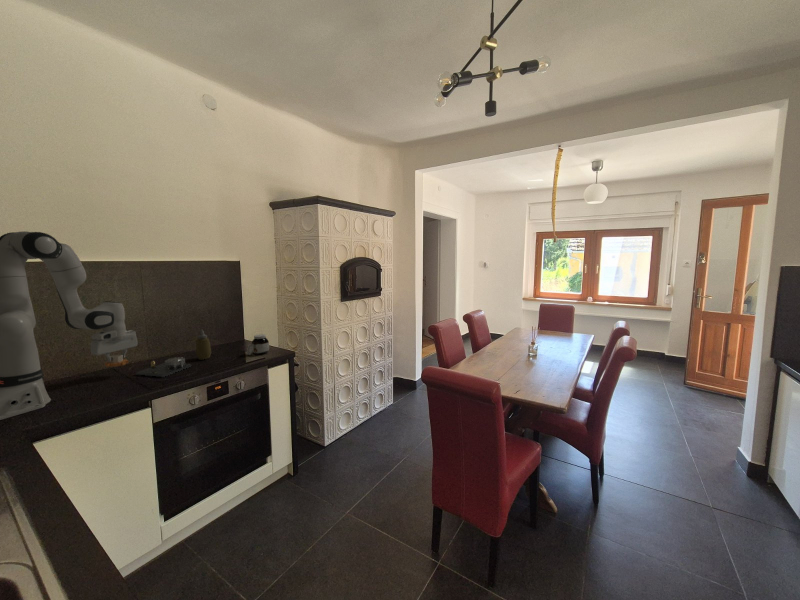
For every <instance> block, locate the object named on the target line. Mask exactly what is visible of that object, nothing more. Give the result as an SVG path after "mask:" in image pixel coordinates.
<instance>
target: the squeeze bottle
mask: <svg viewBox="0 0 800 600" xmlns="http://www.w3.org/2000/svg"><path fill="white" fill-rule="evenodd" d="M195 343H196V344H195V355H196V357H197V359H198V360H201V361H203V360H204V359H205V360H208V359H210V358H211V354H212V349H211V343H210V338H208V335H207V334H205V331H204V329H202V328H201V329H200V334H199V335H197V339H196V342H195Z"/></svg>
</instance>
